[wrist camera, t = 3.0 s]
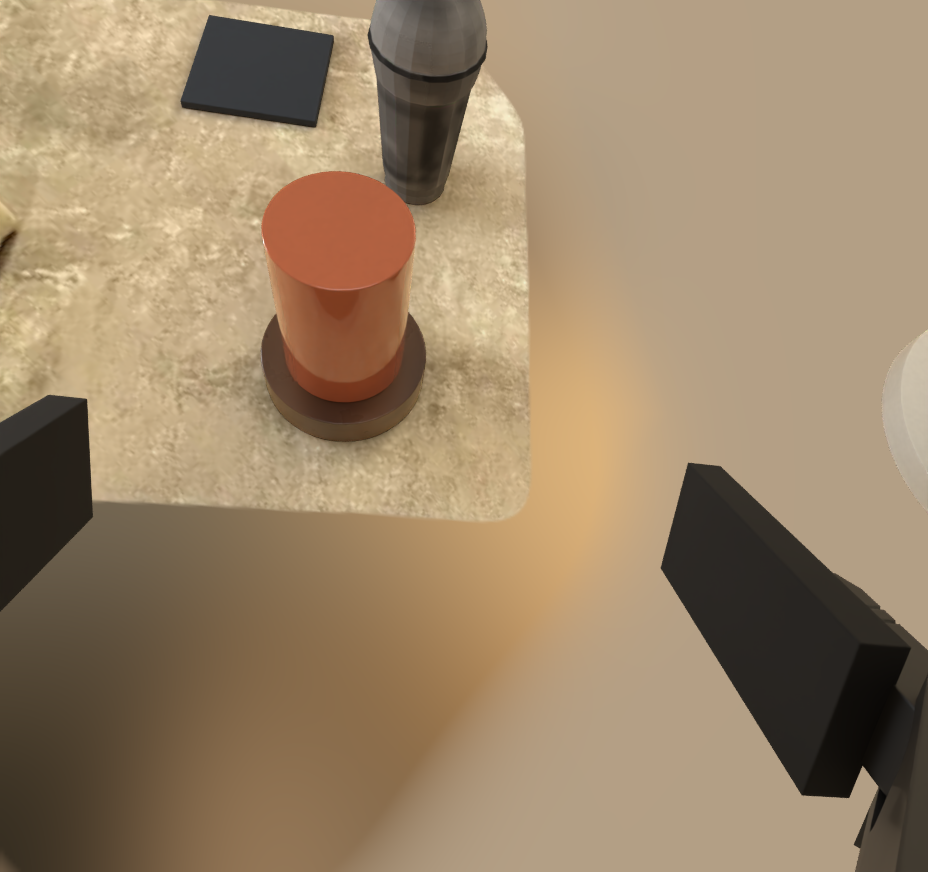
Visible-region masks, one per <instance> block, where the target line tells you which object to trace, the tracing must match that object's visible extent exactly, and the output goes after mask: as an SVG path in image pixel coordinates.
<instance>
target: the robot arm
mask: <svg viewBox="0 0 928 872" xmlns="http://www.w3.org/2000/svg"><path fill="white" fill-rule="evenodd" d="M92 517H93V513H92V490H91V470H90V449H89V429H88V408H87V399H83V398H74V397H64V396H55V395H47V396H46V397H44V398H42V399H41V400H39V401H37V402H35V403H34V404H32V405H30V406H28V407H27V408H25V409H23V410H21V411H20V412H18V413H16V414H14V415H13V416H11V417H9V418H7V419H6V420H4V421H2V422H0V611H1V610H2V609H3V608H4V607H5V606H6V605H7V604H8V603H9V602H10V601H11V600H12V599H13V598H14V597H15V596H16V595H17V594H18V593H19V592H20V591H21V590H22V589H23V588H24V587H25V586H26V585H27V584H28V583H29V582H30V581H31V580H32V579H33V578H34V577H35V576H36V575H37V574H38V573H39V571H41V569H42V568H43V567H44V566H45V565H46V564H47V563H48V562H49V561H50V560H51V559H52V558H53V557H54V556H55V555H56V554H57V553H58V552H59V551H60V550H61V549H62V548H63V547H64V546H65V545H66V544H67V543H68V542H69V541H70V540H71V539H72V538H73V537H74V536H75V535H76V534H77V532H79V531H80V530H81V529H82V527H84V526H85V524H86V523H87V522H88V521H89V520H90V519H91V518H92ZM661 569H662V571H663V573H664V574H665V576H666V577H667V579H668V581H669V582H670V584H671V585H672V587H673V589H674V590H675V592H676V594H677V595H678V597H679V598H680V600H681V602H682V603H683V605H684V606H685V608H686V610H687V611H688V613H689V614H690V616H691V618H692V619H693V621H694V623H695V624H696V626H697V627H698V629H699V630H700V632H701V634H702V635H703V637H704V638H705V640H706V642H707V643H708V645H709V647H710V648H711V650H712V652H713V653H714V655H715V656H716V658H717V659H718V661H719V663H720V664H721V666H722V668H723V669H724V671H725V672H726V674H727V675H728V677H729V679H730V680H731V682H732V684H733V685H734V687H735V688H736V690H737V691H738V693H739V695H740V697H741V698H742V700H743V701H744V703H745V705H746V706H747V708H748V709H749V711H750V713H751V714H752V716H753V717H754V719H755V721H756V722H757V724H758V725H759V727H760V729H761V730H762V732H763V733H764V735H765V737H766V738H767V740H768V742H769V743H770V745H771V746H772V748H773V750H774V751H775V753H776V754H777V756H778V758H779V759H780V761H781V763H782V764H783V766H784V767H785V769H786V771H787V772H788V774H789V775H790V777H791V779H792V780H793V782H794V783H795V785H796V787H797V788H798V790H799V791H800V793H801V795H806V796H823V797H840V798H849V797H850V795H851V792H852V790H853V787H854V785H855V782H856V780H857V778H858V775H859V773H860V770H861V768H862V766H863V767H864V768H865V769H866V771H867V772H868V773H869V775H870V776H871V777H872V779H873V780H874V781H875V782H876V784H877V785H878V786H879V787H878V790H877V792H876V794H875V797H874V799H873V801H872V803H871V806H870V808H869V810H868V813H867V815H866V818H865V820H864V822H863V824H862V827H861V829H860V832H859V834H858V836H857V838H856V841H855V843H854V845H855V846H857V847H858V848H860V853H859V857H858V861H857V866H856V870H855V872H928V650H927V649H926V648H925V647H924V646H922V645H921V644H920V643H919V642H918V641H917V640H916V639H915V638H914V637H913V636H912V635H911V634H909V633H908V632H907V631H906V630H905V629H904V628H903V627H902V626H901V625H900V624H896V623H895V620H894V619H893V618H892V617H891V616H890V615H889V614H888V613H886V611H885V610H880V606H879V605H878V604H877V603H876V602H875V601H873V599H871V597H869V596H868V595H867V594H866V593H865V592H864V591H863V590H862V589H860V588H859V587H857V586H855V585H854V584H852V583H850V582H848V581H847V580H845V579H844V578H842V577H840V576H839V575H837V574H835V573H832V572H831V571H830V570H829V569H828V568H827V567H826V566H825V565H824V564H823V563H822V562H821V561H820V560H818V559H817V558H816V557H815V556H814V555H813V554H812V553H811V552H810V551H809V550H808V549H807V548H806V547H805V546H804V545H803V544H802V543H801V542H799V541H798V540H797V539H796V538H795V537H794V536H793V535H792V534H791V533H790V532H789V531H788V530H787V529H786V528H785V527H784V526H783V525H781V523H780V522H778V521H777V520H776V519H775V518H774V517H773V516H772V515H771V514H770V513H769V512H768V511H767V510H766V509H765V508H764V507H763V506H762V505H761V504H759V503H758V502H757V501H756V500H755V499H754V498H753V497H752V496H751V495H750V494H749V493H748V492H747V491H746V490H745V489H744V488H743V487H741V485H739V484H738V483H737V482H736V481H735V480H734V479H733V478H732V477H731V476H730V475H729V474H728V473H727V472H726V471H725V470H723V468H722V467H721V466H714V465H704V464H694V463H688V466H687V469H686V473H685V477H684V481H683V485H682V488H681V492H680V496H679V500H678V504H677V507H676V511H675V515H674V519H673V523H672V527H671V531H670V535H669V538H668V542H667V546H666V550H665V554H664V557H663V561H662V566H661Z"/></svg>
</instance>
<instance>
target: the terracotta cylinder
mask: <svg viewBox="0 0 928 872" xmlns="http://www.w3.org/2000/svg"><path fill="white" fill-rule="evenodd" d="M261 233H262V240H263V245H264V250H265V255H266V261H267V266H268V271H269V276H270V282H271V287H272V292H273V298H274V303H275V308H276V313H277V319H278V324H279V329H280V335H281V340H282V345H283V350H284V356H285V361H286V365H287V367H288V370H289V372H290V374H291V375H292V377H293V378H294V379H295V381H296V382H297V383H298V384H299V385H300V386H301V387H302V388H303V389H305V390H306V391H307V392H309V393H311V394H313V395H314V396H317V397H319V398H321V399H325V400H328V401H333V402H344V403H346V402H356V401H361V400H365V399H368V398H370V397H373V396H375V395H377V394H378V393H380V392H382V391H383V390H384V389H385V388H387V387H388V386H389V385H390V384H391V383H392V382H393V380H394V379H395V378H396V376H397V375H398V373H399V371H400V368H401V366H402V362H403V356H404V347H405V337H406V328H407V318H408V309H409V299H410V290H411V280H412V271H413V261H414V252H415V242H416V228H415V223H414V219H413V216H412V214H411V212H410V210H409V208H408V207H407V205H406V204H405V202H404V201H403V200H402V199H401V198H400V197H399V195H397V194H396V193H395V192H394V191H393V190H392V189H390V188H389V187H387V186H386V185H384V184H383V183H381V182H379V181H377V180H375V179H372V178H370V177H367V176H364V175H360V174H356V173H351V172H341V171H329V172H320V173H315V174H311V175H308V176H304V177H302V178H299V179H297V180H295V181H293V182H291V183H290V184H288V185H286V186H285V187H284V188H282V189H281V190H280V191H279V192H278V193H277V194H276V195H275V196H274V197H273V198H272V200H271V201H270V203H269V204H268V206H267V208H266V210H265V213H264V216H263V219H262V225H261Z"/></svg>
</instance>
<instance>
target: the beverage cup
mask: <svg viewBox="0 0 928 872" xmlns="http://www.w3.org/2000/svg"><path fill="white" fill-rule="evenodd" d="M486 34H487V29H486V19H485V15H484V11H483V7H482V4H481V1H480V0H376V3H375V7H374V11H373V15H372V18H371V24H370V28H369V32H368V40H369V45H370V49H371V52H372V57H373V63H374V68H375V73H376V76H377V90H378V103H379V117H380V131H381V145H382V159H383V167H384V172H385V182H386V186H387V187H389V188H390V189H392V190H393V191H394V192H395V193H396V194H397V195H399V197H400V198H401V199H402V200H403V201H404V202H405V203H410V204H415V205H416V204H426V203H429V202H432V201H434V200H435V199H437V198H438V197H440V195H441V194H442V192H443V191H444V185H445V183H446V179H447V177H448V175H449V172H450V168H451V164H452V160H453V156H454V152H455V149H456V145H457V141H458V137H459V133H460V130H461V126H462V122H463V118H464V114H465V111H466V107H467V103H468V99H469V95H470V92H471V89H472V87H473V86H474V84H475V81H476V79H477V76H478V74H479V71H480V68H481V65H482V63H483V62H484V61H485V59H486V52H487V40H486Z"/></svg>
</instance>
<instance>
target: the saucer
mask: <svg viewBox="0 0 928 872" xmlns="http://www.w3.org/2000/svg"><path fill="white" fill-rule="evenodd" d="M261 363H262V368H263V373H264V377H265V381H266V385H267V388H268V391H269V394H270V397H271V399H272V401H273V403H274V405H275V406H276V408H277V409H278V410H279V412H280V413H281V414H282V415H283V416H284V417H285V418H286V419H287V420H288V421H289V422H290V423H291V424H293V425H294V426H295V427H297V428H299V429H300V430H302V431H304V432H306V433H308V434H310V435H313V436H315V437H319V438H322V439H326V440H332V441H345V442H346V441H358V440H363V439H368V438H371V437H374V436H377V435H379V434H381V433H384V432H386V431H388V430H389V429H391V428H392V427H394V426H395V425H397V424H398V423H399V422H400V421H402V420H403V419H404V418H405V416H406V415H407V414H408V413H409V412H410V411H411V409H412V408H413V406H414V405H415V403H416V401H417V399H418V397H419V394H420V391H421V387H422V381H423V375H424V369H425V363H426V349H425V342H424V339H423V335H422V333H421V331H420V329H419V326H418V325H417V323H416V322H415V320H414V318H413V317H412V316H411V315H410V314H409V312H408V318H407V328H406V337H405V347H404V356H403V362H402V366H401V368H400V371H399V373H398V375H397V376H396V378H395V379H394V380H393V382H392V383H391V384H390V385H389V386H388V387H387V388H385V389H384V390H383V391H382V392H380V393H378V394H377V395H375V396H373V397H370V398H368V399H365V400H361V401H356V402H346V403H344V402H333V401H328V400H325V399H321V398H319V397H317V396H314V395H313V394H311V393H309V392H307V391H306V390H305V389H303V388H302V387H301V386H300V385H299V384H298V383H297V382H296V381H295V379H294V378H293V377H292V375H291V374H290V372H289V370H288V367H287V365H286V361H285V356H284V350H283V345H282V340H281V335H280V329H279V324H278V319H277V313H276V314H275V316H274V317H273V318H272V320H271V321H270V323H269V325H268V327H267V329H266V331H265V333H264V337H263V340H262V346H261Z"/></svg>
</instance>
